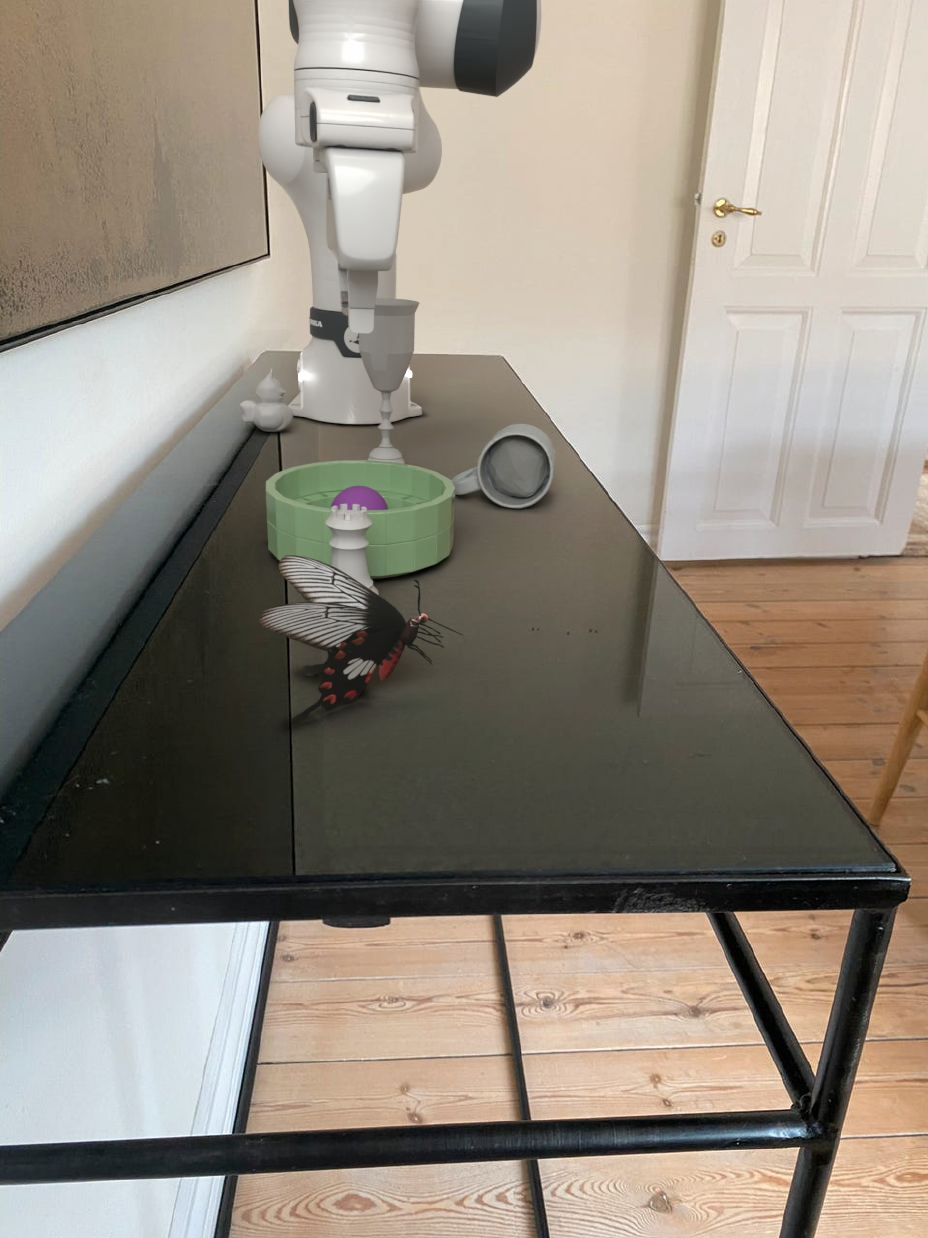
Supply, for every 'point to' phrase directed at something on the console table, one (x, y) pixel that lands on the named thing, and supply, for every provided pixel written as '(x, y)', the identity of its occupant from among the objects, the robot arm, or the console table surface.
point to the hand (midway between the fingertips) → (356, 323)
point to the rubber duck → (268, 407)
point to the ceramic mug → (512, 467)
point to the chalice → (388, 361)
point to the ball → (360, 498)
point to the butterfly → (342, 629)
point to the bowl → (396, 536)
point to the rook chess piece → (350, 542)
